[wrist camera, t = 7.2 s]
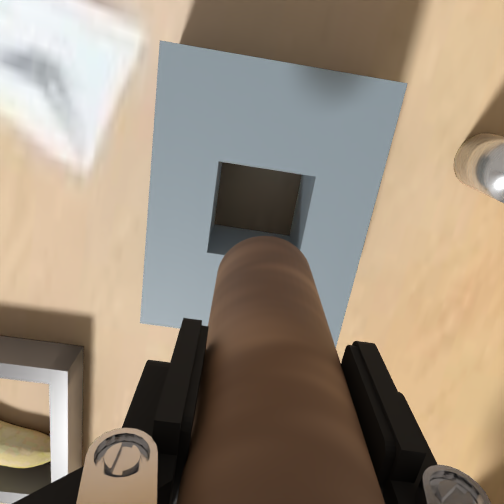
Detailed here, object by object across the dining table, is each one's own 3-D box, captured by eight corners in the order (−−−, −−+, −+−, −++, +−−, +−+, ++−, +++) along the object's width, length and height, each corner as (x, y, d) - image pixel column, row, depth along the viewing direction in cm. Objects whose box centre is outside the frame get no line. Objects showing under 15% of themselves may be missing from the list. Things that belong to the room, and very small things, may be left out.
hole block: (378, 83, 30) (407, 83, 24) (322, 308, 36) (335, 349, 31) (177, 48, 29) (159, 40, 23) (157, 285, 35) (140, 323, 30)
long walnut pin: (320, 243, 17) (601, 893, 3) (301, 326, 19) (443, 1019, 5) (223, 229, 17) (103, 862, 3) (211, 314, 19) (93, 1006, 5)
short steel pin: (516, 137, 31) (563, 147, 26) (496, 190, 33) (537, 208, 28) (464, 128, 31) (502, 137, 26) (446, 182, 32) (479, 199, 28)
